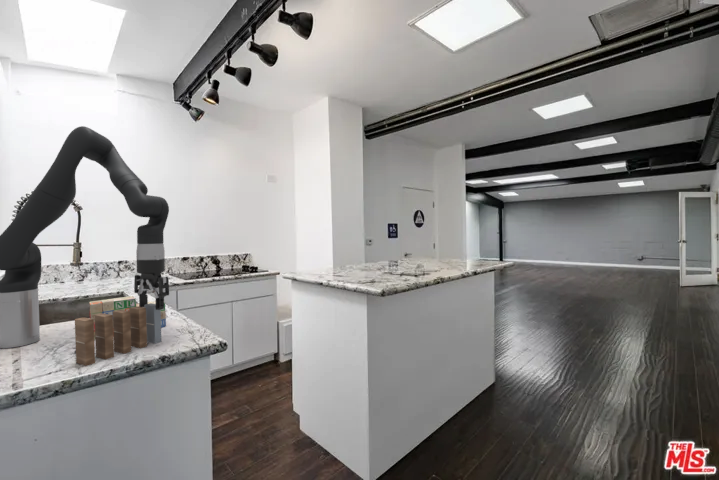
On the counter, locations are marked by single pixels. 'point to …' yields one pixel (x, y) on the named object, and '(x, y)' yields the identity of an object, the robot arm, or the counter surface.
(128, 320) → the domino
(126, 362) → the counter surface
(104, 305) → the stack of blocks
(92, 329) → the domino
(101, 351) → the domino
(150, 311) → the domino
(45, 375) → the counter surface
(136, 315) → the domino
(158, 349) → the counter surface
